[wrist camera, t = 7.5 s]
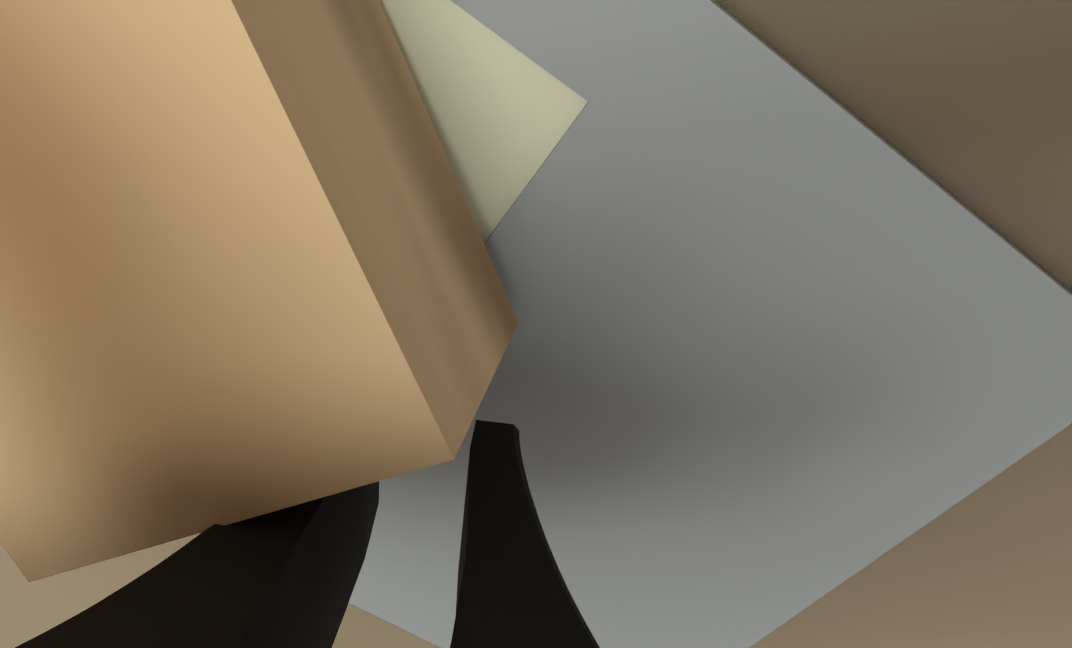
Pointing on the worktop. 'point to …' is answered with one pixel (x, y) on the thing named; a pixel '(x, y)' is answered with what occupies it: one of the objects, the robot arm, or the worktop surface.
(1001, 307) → the board
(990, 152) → the worktop surface
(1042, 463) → the worktop surface
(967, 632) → the worktop surface
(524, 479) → the robot arm
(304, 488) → the oak block
